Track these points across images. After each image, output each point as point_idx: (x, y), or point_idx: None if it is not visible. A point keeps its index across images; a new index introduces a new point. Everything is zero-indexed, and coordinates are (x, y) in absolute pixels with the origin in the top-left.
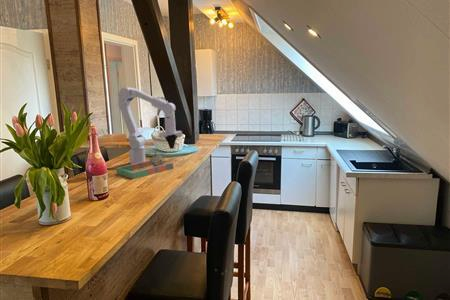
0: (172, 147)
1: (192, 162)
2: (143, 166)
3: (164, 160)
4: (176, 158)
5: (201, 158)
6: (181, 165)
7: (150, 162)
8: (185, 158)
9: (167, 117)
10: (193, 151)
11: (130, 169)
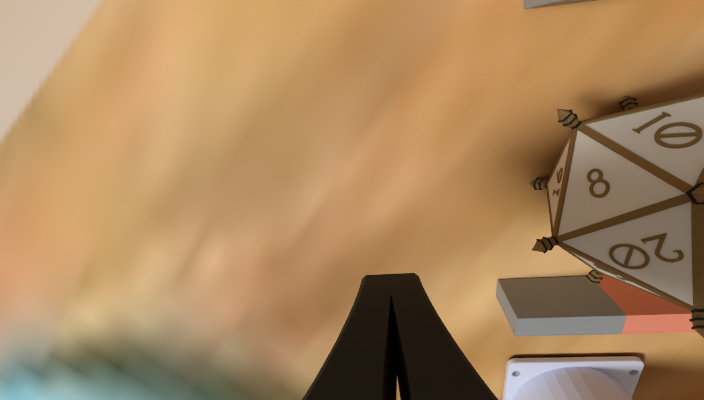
0: (406, 287)
1: (169, 55)
2: None
3: (605, 128)
4: (236, 317)
5: (9, 141)
6: (354, 28)
7: (597, 300)
8: (165, 262)
9: None
10: (18, 387)
11: None
